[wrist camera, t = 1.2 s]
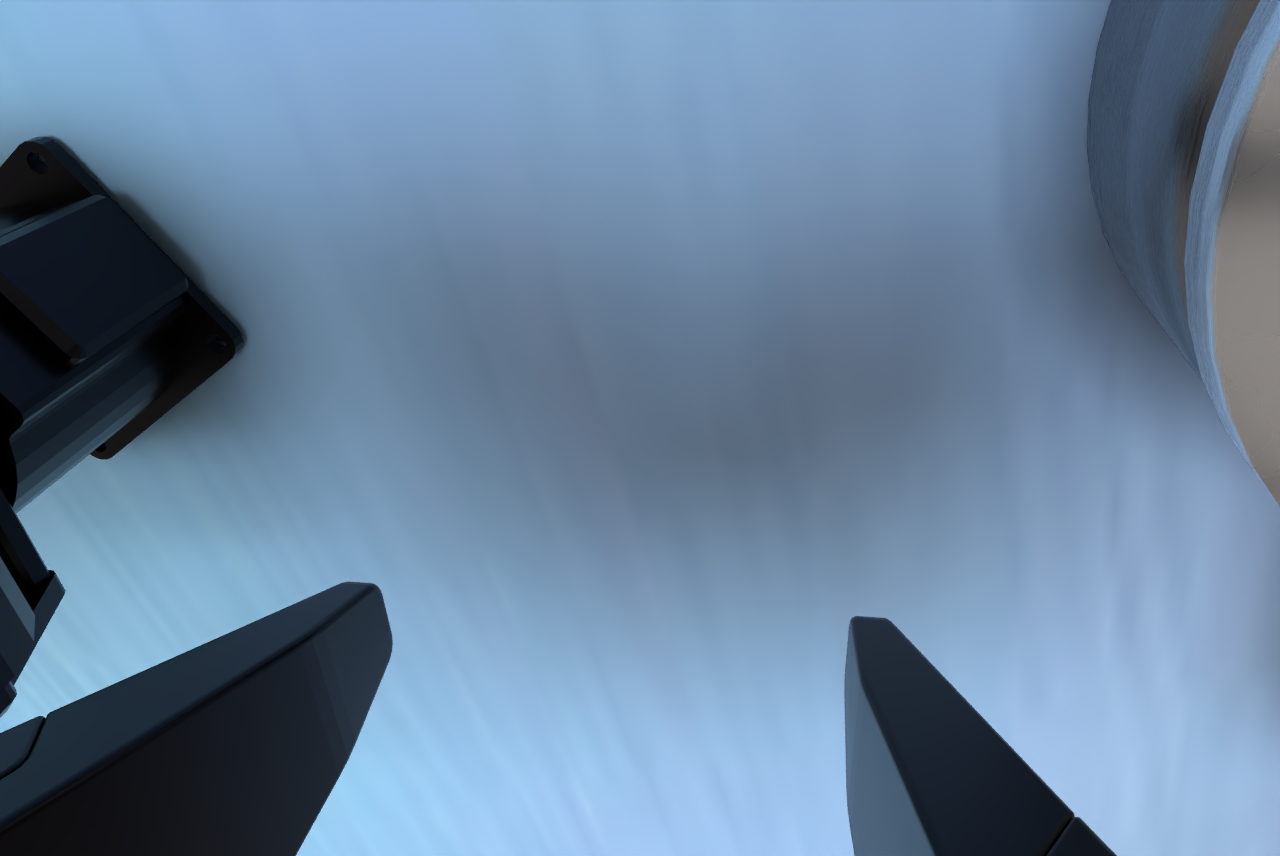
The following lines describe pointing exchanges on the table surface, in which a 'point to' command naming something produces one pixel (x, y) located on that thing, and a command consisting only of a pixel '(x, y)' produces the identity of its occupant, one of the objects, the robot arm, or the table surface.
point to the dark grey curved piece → (1156, 137)
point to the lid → (1241, 249)
